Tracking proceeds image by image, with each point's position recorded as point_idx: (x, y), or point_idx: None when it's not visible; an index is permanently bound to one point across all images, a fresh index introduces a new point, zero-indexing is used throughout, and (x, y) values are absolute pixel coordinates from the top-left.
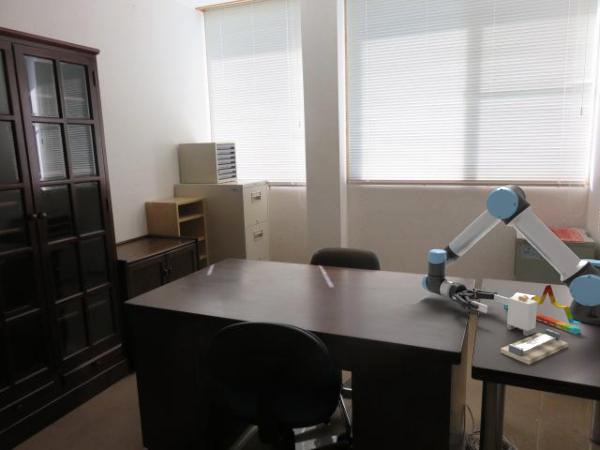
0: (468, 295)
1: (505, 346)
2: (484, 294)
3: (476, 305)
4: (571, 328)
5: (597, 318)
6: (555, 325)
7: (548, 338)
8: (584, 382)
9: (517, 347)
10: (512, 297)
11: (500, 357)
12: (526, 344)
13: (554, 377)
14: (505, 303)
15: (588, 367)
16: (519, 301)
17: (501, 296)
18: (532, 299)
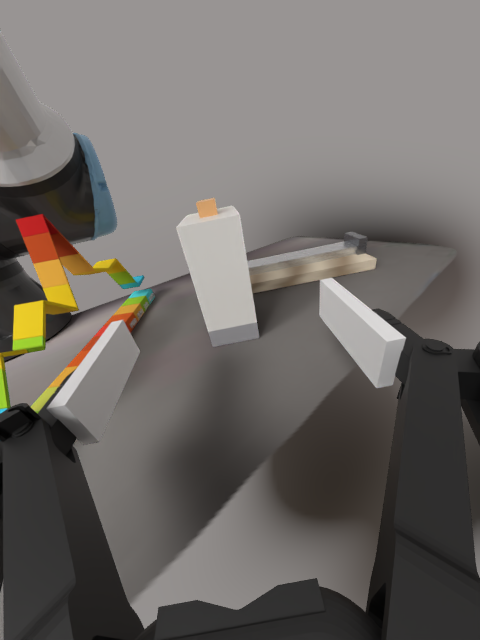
0: (341, 607)
1: (359, 262)
2: (68, 503)
3: (380, 310)
4: (146, 292)
5: None
6: (136, 317)
7: (249, 262)
8: (298, 237)
9: (354, 233)
10: (217, 218)
11: (386, 260)
12: (315, 252)
13: (327, 239)
14: (131, 358)
15: (260, 250)
16: (235, 209)
17: (94, 354)
18: (24, 333)
